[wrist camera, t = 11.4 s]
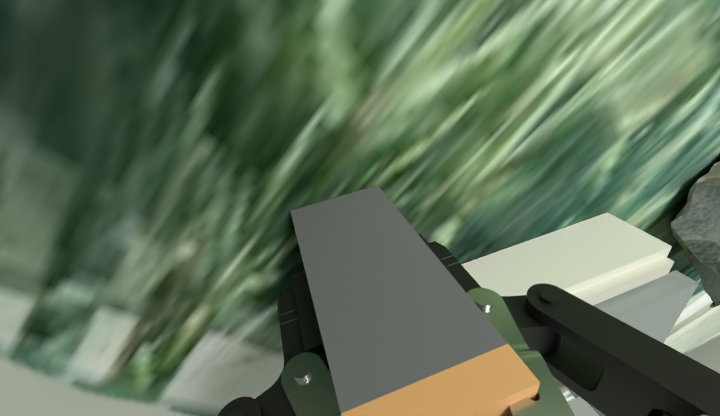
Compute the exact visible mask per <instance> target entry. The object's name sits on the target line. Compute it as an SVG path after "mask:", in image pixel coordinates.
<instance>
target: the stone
mask: <svg viewBox="0 0 720 416" xmlns="http://www.w3.org/2000/svg"><path fill="white" fill-rule="evenodd" d="M689 191H690V192H689V193H688V197H687V203H686V204H685V206H684V207H683V208H682V210H681V211H680V212H679V213H678V214H677V216H676V217H675V219H674V220H673V221H672V222H671V224H670V225H671V230H672V232H673V235H674V237H675V238H676V239H677V241H678V242H679V244H680V246H681V247H682V248H683V249H684V253H685V255H686V257H687V258H688V260H689V261H690V263H691V264H692V265H693V266H694V268H695V269H696V270H697V271H698V272H699V273H700V277H701V282H702V285H703V288H704V290H705V291H706V293H707V294H708V295H709V296H710V297H711V299H712V301H713V303H712V304H711V305H710V307H711V308H713V307H716V306H719V305H720V161H719V162H717V163H715V164H714V165H713V166H712V168H711V169H710V171H709V173H707V174H706V175H704V176H702V177H701V178H699V179H698V180H697V181H696V182H695V183H694V185H693V186H692V188H691V189H690V190H689Z"/></svg>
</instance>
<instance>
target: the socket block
mask: <svg viewBox="0 0 720 416" xmlns="http://www.w3.org/2000/svg"><path fill="white" fill-rule="evenodd" d="M671 248H672V246H671V245H669V244H667V243H665V242H663V241H661V240H659V239H657V238H655V237H653V236H651V235H650V234H648V233H646V232H644V231H642V230H640V229H638V228H636V227H634V226H632V225H630V224H628V223H627V222H625V221H623V220H621V219H619V218H617V217H615V216H613V215H611V214H609V213H604V214H602V215H599V216H596V217H593V218H590V219H587V220H585V221H582V222H579V223H576V224H573V225H571V226H568V227H565V228H562V229H559V230H557V231H554V232H551V233H548V234H545V235H543V236H540V237H537V238H534V239H531V240H528V241H526V242H523V243H520V244H517V245H514V246H512V247H509V248H506V249H503V250H500V251H498V252H495V253H492V254H489V255H486V256H484V257H481V258H478V259H475V260H472V261H470V262H467V263H464V264H461V265H462V266H463V267H464V268H465V269H466V270H467V272H468V273H469V274H470V275H471V276H472V277H473V278H474V279H475V280H476V282H477V283H478V284H479V285H480V286H481V287H482V288H487V289H490V290H492V291H495V292H496V293H498V294H499V295H500V296H520V295H527V291H528V289H529V288H530V287H531V286H533V285H535V284H540V283H545V284H551V285H554V286H557V287H559V288H561V289H563V290H565V291H567V292H568V293H570V294H572V295H574V296H576V297H578V298H580V299H581V300H583V301H585V302H587V303H589V304H591V305H595V304H598V303H600V302H603V301H605V300H607V299H610V298H612V297H614V296H617V295H619V294H622V293H624V292H626V291H629V290H631V289H634V288H636V287H638V286H641V285H643V284H646V283H648V282H650V281H653V280H655V279H658V278H660V277H662V276H665V275H667V274H668V273H669V271H670V269H671V268H672V266H673V264H674V261H672V260H671V259H669V258H667V256H668V254H669V252H670V250H671ZM554 379H555V381H556V383H557V385H558V386H559V388H560V390H561V392H562V393H564V392H566V391H568V389H567V388H566V387H565V386H564V385H563V384H562V383H561V382H560V381H558V380H557V379H556V378H554Z"/></svg>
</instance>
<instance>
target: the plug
mask: <svg viewBox="0 0 720 416" xmlns="http://www.w3.org/2000/svg"><path fill="white" fill-rule="evenodd" d="M290 212H291V216H292V220H293V224H294V228H295V232H296V236H297V240H298V244H299V248H300V252H301V256H302V260H303V264H304V268H305V272H306V276H307V280H308V284H309V288H310V292H311V296H312V300H313V304H314V308H315V312H316V316H317V320H318V324H319V328H320V332H321V336H322V340H323V344H324V348H325V352H326V356H327V360H328V364H329V368H330V372H331V376H332V380H333V384H334V388H335V392H336V396H337V400H338V404H339V408H340V412H341V416H507V413H508V408H509V405H511V404H514V403H516V402H518V401H520V400H522V399H525V398H527V397H529V398H530V399H531V400H533V401H535V399H536V395H537V392H538V388H539V385H540V382H539V380H538V379H537V378H536V377H535V375H534V374H533V373H532V372H531V371H530V369H529V368H528V367H527V366H526V365H525V363H524V362H523V361H522V360H521V359H520V357H519V356H518V355H517V354H516V352H515V351H514V350H513V349H512V348H511V346H510V345H509V344H508V343H507V342H506V340H505V339H504V338H503V337H502V335H501V334H500V333H499V332H498V331H497V329H496V328H495V327H494V326H493V325H492V323H491V322H490V321H489V320H488V318H487V317H486V316H485V315H484V314H483V312H482V311H481V310H480V309H479V308H478V306H477V305H476V304H475V303H474V302H473V300H472V299H471V298H470V297H469V295H468V294H467V293H466V292H465V291H464V289H463V288H462V287H461V286H460V285H459V283H458V282H457V281H456V280H455V278H454V277H453V276H452V275H451V274H450V272H449V271H448V270H447V269H446V268H445V266H444V265H443V264H442V263H441V262H440V260H439V259H438V258H437V257H436V255H435V254H434V253H433V252H432V251H431V249H430V248H429V247H428V246H427V245H426V243H425V242H424V241H423V240H422V238H421V237H420V236H419V235H418V234H417V232H416V231H415V230H414V229H413V228H412V226H411V225H410V224H409V223H408V222H407V220H406V219H405V218H404V217H403V215H402V214H401V213H400V212H399V211H398V209H397V208H396V207H395V206H394V205H393V203H392V202H391V201H390V200H389V198H388V197H387V196H386V195H385V194H384V192H383V191H382V190H381V189H380V188H379V186H378V185H377V186H373V187H370V188H366V189H363V190H359V191H356V192H353V193H349V194H346V195H342V196H339V197H335V198H332V199H329V200H325V201H322V202H318V203H315V204H311V205H308V206H305V207H301V208H298V209H294V210H291V211H290Z"/></svg>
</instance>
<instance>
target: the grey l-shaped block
mask: <svg viewBox="0 0 720 416" xmlns="http://www.w3.org/2000/svg"><path fill="white" fill-rule="evenodd" d="M698 284H699V283H698V282H696V281H694V280H692V279H691V278H689V277H687V276H685V275H684V274H682V273H680V272H678V271H677V270H675V271H672V272H670V273H668V274H667V275H665V276H662V277H660V278H658V279H655V280H653V281H650V282H648V283H646V284H643V285H641V286H638V287H636V288H634V289H631V290H629V291H626V292H624V293H622V294H619V295H617V296H614V297H612V298H610V299H607V300H605V301H603V302H600V303H598V304H595V305H593V306H595V307H596V308H598V309H600V310H602V311H604V312H606V313H608V314H609V315H611V316H613V317H615V318H617V319H619V320H621V321H622V322H624V323H626V324H628V325H630V326H632V327H634V328H635V329H637V330H639V331H641V332H643V333H645V334H647V335H648V336H650V337H652V338H654V339H656V340H658V341H660V342H662V343H664V341H665V339H666V338H667V336H668V334H669V333H670V331H671V329H672V328H673V326H674V324H675V323H676V321H677V319H678V318H679V316H680V314H681V313H682V311H683V309H684V308H685V306H686V304H687V303H688V301H689V299H690V298H691V296H692V294H693V293H694V291H695V289H696V288H697V286H698ZM563 385H564V384H563ZM564 386H565V385H564ZM565 387H566V386H565ZM566 388H567V389H568V390H569V391H570V392H571V394H572V395H573V396H574V397H575V398H578V397H580V396H579V395H577V394H576V393H575V392H573V391H572V390H570V389H569V388H568V387H566ZM590 406H591V407H592V408H593V409H594V410H595V411H596V412H597V413H598V414H599V416H605V415H604V414H603V413H601V412H600V411H599V410H597V409H596V408H595V407H593V406H592V405H591V404H590Z"/></svg>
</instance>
